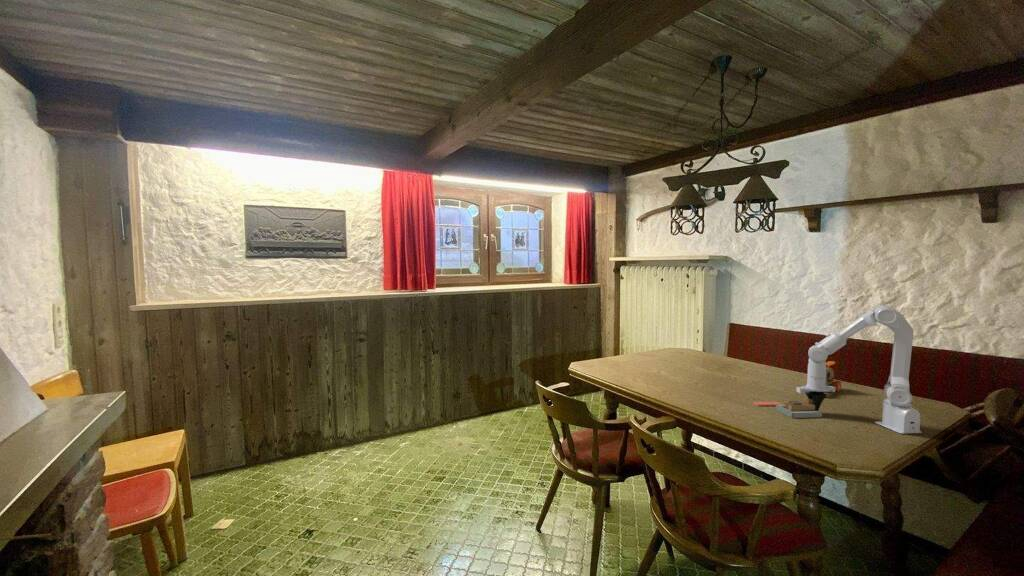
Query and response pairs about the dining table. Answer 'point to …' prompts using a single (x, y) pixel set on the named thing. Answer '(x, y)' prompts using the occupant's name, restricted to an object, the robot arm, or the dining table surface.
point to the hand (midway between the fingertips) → (814, 409)
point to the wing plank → (767, 403)
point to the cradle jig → (798, 414)
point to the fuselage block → (800, 406)
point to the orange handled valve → (831, 377)
